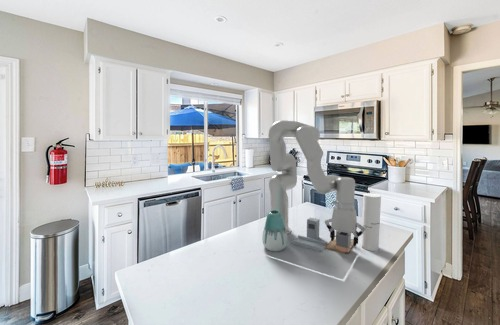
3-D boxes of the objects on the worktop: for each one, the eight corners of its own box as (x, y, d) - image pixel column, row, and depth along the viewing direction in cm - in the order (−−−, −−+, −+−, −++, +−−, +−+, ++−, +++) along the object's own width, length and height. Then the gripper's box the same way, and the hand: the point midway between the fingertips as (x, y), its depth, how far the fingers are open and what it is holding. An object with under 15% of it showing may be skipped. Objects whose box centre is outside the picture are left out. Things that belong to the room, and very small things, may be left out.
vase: (277, 257, 106) (277, 217, 104) (257, 249, 114) (256, 211, 112) (292, 247, 115) (292, 210, 113) (272, 240, 123) (272, 206, 120)
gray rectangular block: (306, 238, 125) (306, 219, 123) (309, 235, 128) (310, 217, 127) (316, 241, 122) (316, 221, 120) (319, 238, 125) (319, 219, 124)
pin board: (323, 249, 113) (324, 237, 112) (334, 237, 126) (334, 226, 125) (348, 255, 107) (348, 243, 106) (356, 242, 120) (357, 231, 119)
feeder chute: (291, 244, 118) (291, 240, 118) (298, 238, 125) (298, 235, 124) (321, 252, 110) (321, 248, 109) (327, 246, 116) (327, 242, 116)
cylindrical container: (380, 251, 110) (383, 197, 107) (363, 250, 112) (365, 196, 109) (375, 244, 117) (378, 193, 114) (359, 243, 119) (361, 192, 116)
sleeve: (335, 249, 110) (336, 234, 109) (339, 245, 114) (339, 230, 113) (347, 252, 107) (348, 236, 106) (350, 247, 111) (350, 233, 110)
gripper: (322, 204, 110) (321, 240, 112) (364, 210, 100) (362, 250, 102) (328, 200, 116) (327, 235, 118) (367, 206, 106) (366, 244, 108)
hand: (343, 242), depth 110 cm, fingers open, 9 cm apart
